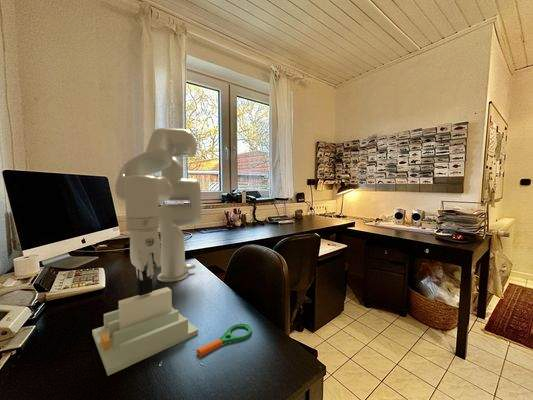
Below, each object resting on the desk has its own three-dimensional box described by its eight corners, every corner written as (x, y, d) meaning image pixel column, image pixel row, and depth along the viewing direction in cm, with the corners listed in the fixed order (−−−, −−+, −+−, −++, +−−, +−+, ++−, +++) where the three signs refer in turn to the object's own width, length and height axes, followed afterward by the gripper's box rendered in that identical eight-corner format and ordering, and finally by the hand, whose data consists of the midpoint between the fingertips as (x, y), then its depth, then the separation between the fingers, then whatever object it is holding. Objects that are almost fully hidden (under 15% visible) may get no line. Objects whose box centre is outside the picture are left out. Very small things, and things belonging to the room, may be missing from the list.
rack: (169, 307, 75) (168, 293, 75) (198, 333, 62) (197, 316, 62) (92, 334, 61) (91, 316, 61) (107, 375, 48) (107, 353, 48)
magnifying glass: (242, 325, 67) (242, 319, 67) (256, 334, 62) (256, 328, 62) (192, 351, 56) (192, 344, 56) (205, 364, 52) (205, 356, 52)
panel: (167, 317, 67) (167, 287, 67) (172, 322, 65) (171, 290, 65) (119, 336, 59) (118, 300, 58) (122, 341, 57) (121, 305, 56)
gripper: (169, 225, 58) (170, 298, 59) (148, 219, 68) (150, 280, 69) (135, 229, 52) (137, 309, 53) (119, 221, 63) (121, 288, 64)
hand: (144, 293), depth 61 cm, fingers closed
